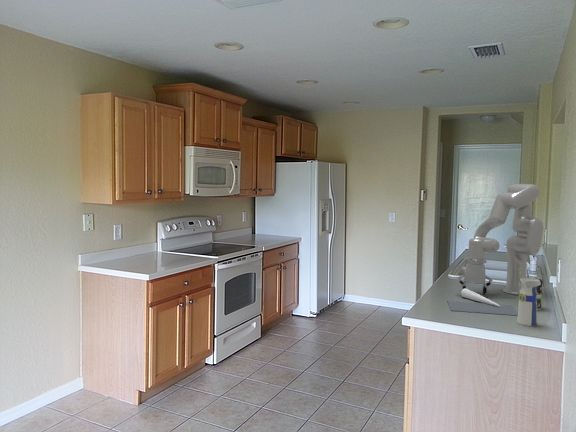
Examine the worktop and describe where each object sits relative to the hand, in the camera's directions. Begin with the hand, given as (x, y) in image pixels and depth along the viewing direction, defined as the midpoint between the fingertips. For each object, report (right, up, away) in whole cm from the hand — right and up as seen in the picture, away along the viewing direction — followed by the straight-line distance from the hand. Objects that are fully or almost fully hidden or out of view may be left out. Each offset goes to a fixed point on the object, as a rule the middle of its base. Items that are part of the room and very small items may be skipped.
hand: (474, 293), depth 244 cm
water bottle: (+5, -5, -45) cm, 46 cm away
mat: (-5, -3, -22) cm, 23 cm away
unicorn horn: (-1, -2, -11) cm, 11 cm away
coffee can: (+19, -4, -20) cm, 28 cm away
